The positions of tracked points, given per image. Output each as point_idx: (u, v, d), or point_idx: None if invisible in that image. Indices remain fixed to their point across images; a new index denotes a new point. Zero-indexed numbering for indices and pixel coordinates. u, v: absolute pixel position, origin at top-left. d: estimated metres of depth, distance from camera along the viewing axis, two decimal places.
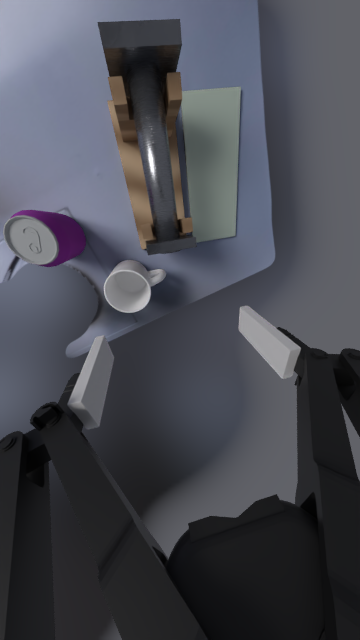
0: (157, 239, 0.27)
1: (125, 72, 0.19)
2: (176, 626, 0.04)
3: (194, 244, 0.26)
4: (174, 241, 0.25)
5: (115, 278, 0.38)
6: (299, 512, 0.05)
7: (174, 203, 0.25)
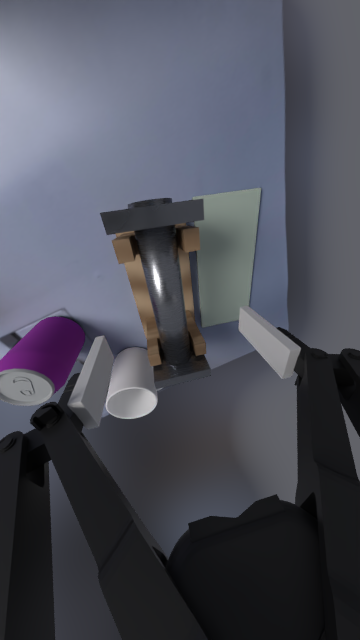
0: (166, 360, 0.24)
1: None
2: (176, 626, 0.04)
3: (208, 374, 0.23)
4: (186, 375, 0.22)
5: None
6: (299, 512, 0.05)
7: (186, 332, 0.22)
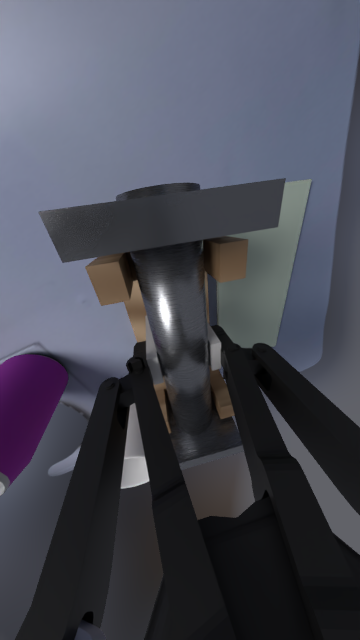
0: (177, 425, 0.17)
1: None
2: (206, 595, 0.04)
3: (240, 450, 0.16)
4: (208, 455, 0.15)
5: None
6: None
7: (209, 392, 0.15)
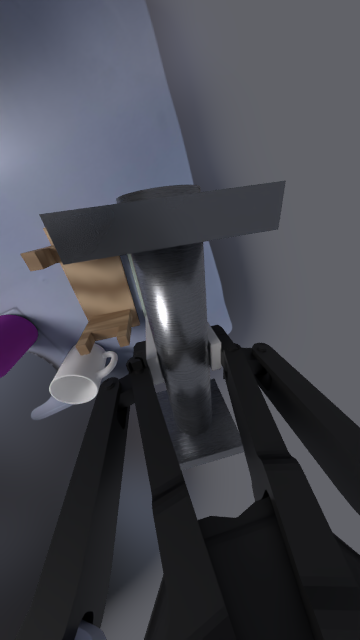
0: (177, 425, 0.17)
1: None
2: (206, 595, 0.04)
3: (240, 451, 0.16)
4: (209, 455, 0.15)
5: None
6: None
7: (209, 393, 0.15)
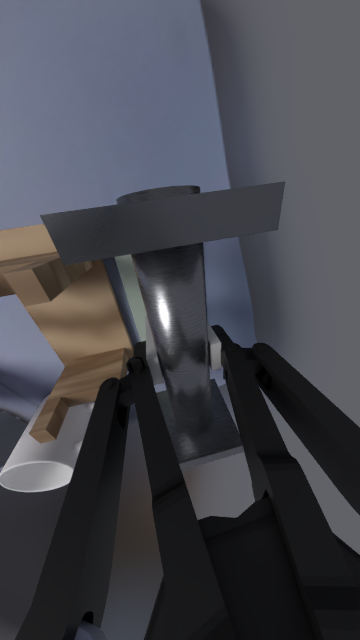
0: (177, 425, 0.17)
1: None
2: (206, 595, 0.04)
3: (240, 450, 0.16)
4: (208, 455, 0.15)
5: None
6: None
7: (209, 393, 0.15)
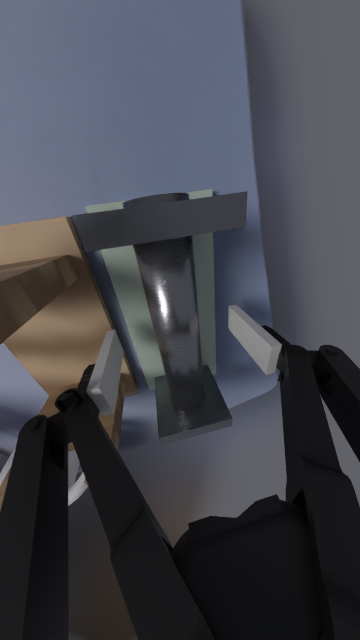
0: (173, 403, 0.19)
1: None
2: (182, 616, 0.04)
3: (229, 424, 0.18)
4: (200, 427, 0.17)
5: None
6: (299, 512, 0.05)
7: (201, 372, 0.17)
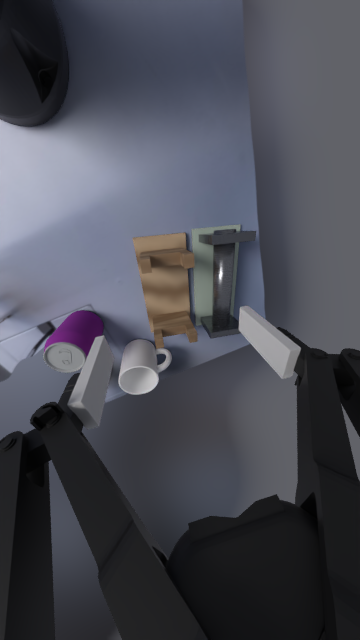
0: (214, 323, 0.38)
1: None
2: (176, 626, 0.04)
3: None
4: (229, 330, 0.36)
5: None
6: (299, 512, 0.05)
7: (230, 304, 0.36)
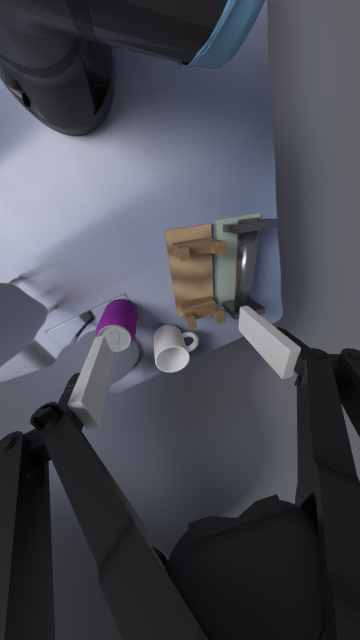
0: (237, 306, 0.42)
1: None
2: (176, 626, 0.04)
3: (263, 312, 0.41)
4: None
5: None
6: (299, 512, 0.05)
7: None
